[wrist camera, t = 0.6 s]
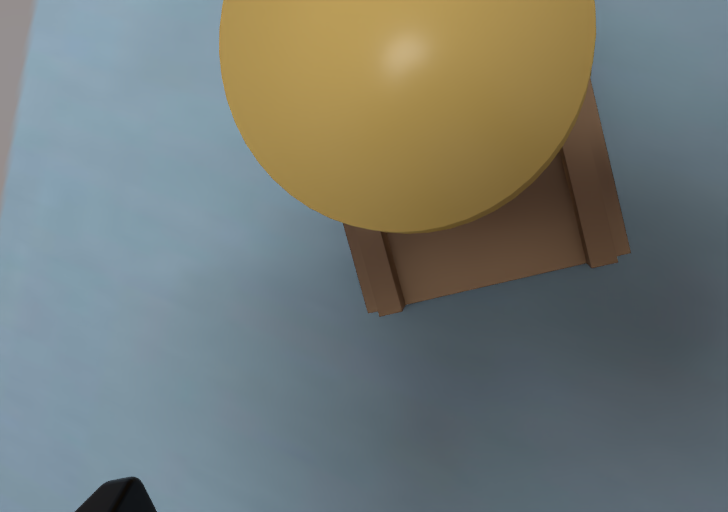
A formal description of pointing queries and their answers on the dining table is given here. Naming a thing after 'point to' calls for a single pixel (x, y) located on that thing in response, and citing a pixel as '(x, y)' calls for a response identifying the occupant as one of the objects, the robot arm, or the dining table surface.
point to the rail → (505, 232)
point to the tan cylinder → (406, 101)
